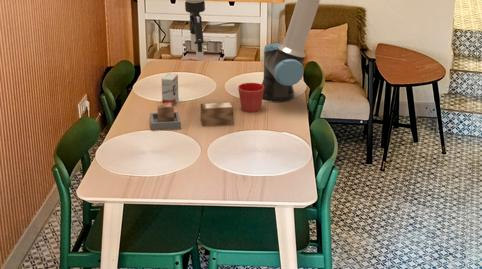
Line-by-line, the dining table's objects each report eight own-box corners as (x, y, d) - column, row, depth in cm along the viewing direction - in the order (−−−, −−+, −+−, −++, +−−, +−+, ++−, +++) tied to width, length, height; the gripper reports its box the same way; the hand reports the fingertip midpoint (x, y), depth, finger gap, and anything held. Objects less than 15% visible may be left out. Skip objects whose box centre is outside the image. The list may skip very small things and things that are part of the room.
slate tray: (178, 118, 272) (177, 111, 271) (180, 128, 262) (180, 122, 261) (150, 119, 270) (149, 113, 269) (151, 130, 260) (151, 123, 259)
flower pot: (234, 111, 280) (234, 89, 276) (243, 103, 290) (243, 81, 286) (258, 115, 277) (259, 92, 273) (267, 106, 286) (267, 84, 282)
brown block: (173, 119, 269) (172, 102, 266) (174, 124, 264) (173, 106, 261) (157, 120, 268) (157, 102, 265) (158, 125, 263) (158, 107, 260)
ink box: (173, 106, 284) (172, 79, 280) (161, 105, 285) (160, 78, 281) (179, 99, 292) (178, 73, 288) (167, 99, 293) (167, 72, 288)
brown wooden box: (230, 118, 272) (230, 101, 270) (233, 124, 267) (233, 107, 264) (200, 120, 270) (200, 103, 268) (202, 126, 265) (202, 108, 262)
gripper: (180, -5, 272) (183, 47, 281) (189, 8, 250) (192, 64, 258) (199, -7, 274) (201, 45, 282) (209, 7, 251) (212, 62, 260)
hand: (197, 54), depth 270 cm, fingers open, 13 cm apart
